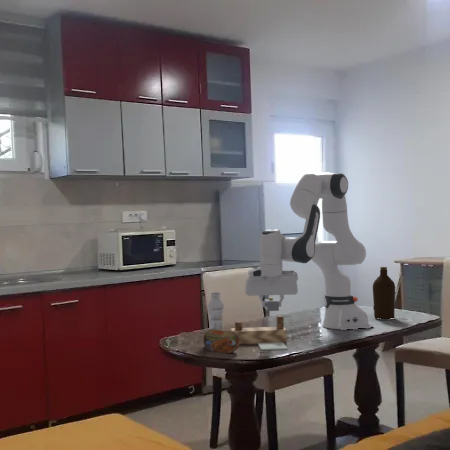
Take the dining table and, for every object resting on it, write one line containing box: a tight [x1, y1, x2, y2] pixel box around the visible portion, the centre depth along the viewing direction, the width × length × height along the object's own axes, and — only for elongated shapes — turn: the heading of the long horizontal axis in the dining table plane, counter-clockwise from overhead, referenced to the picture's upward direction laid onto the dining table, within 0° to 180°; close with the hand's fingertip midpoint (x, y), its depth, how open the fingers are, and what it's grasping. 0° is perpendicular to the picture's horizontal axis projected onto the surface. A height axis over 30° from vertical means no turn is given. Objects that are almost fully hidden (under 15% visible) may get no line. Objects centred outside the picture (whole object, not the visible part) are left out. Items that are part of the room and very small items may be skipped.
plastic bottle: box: [207, 292, 225, 330], centre depth 236 cm, size 6×7×20 cm
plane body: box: [230, 315, 288, 345], centre depth 236 cm, size 22×7×10 cm, turn 94°
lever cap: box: [264, 297, 280, 312], centre depth 225 cm, size 7×4×4 cm, turn 4°
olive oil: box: [372, 266, 396, 319], centre depth 282 cm, size 11×11×25 cm
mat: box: [257, 342, 288, 351], centre depth 226 cm, size 10×10×1 cm
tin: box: [203, 329, 240, 354], centre depth 220 cm, size 15×3×8 cm, turn 56°
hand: (271, 306), depth 225 cm, fingers closed on lever cap, 4 cm apart
